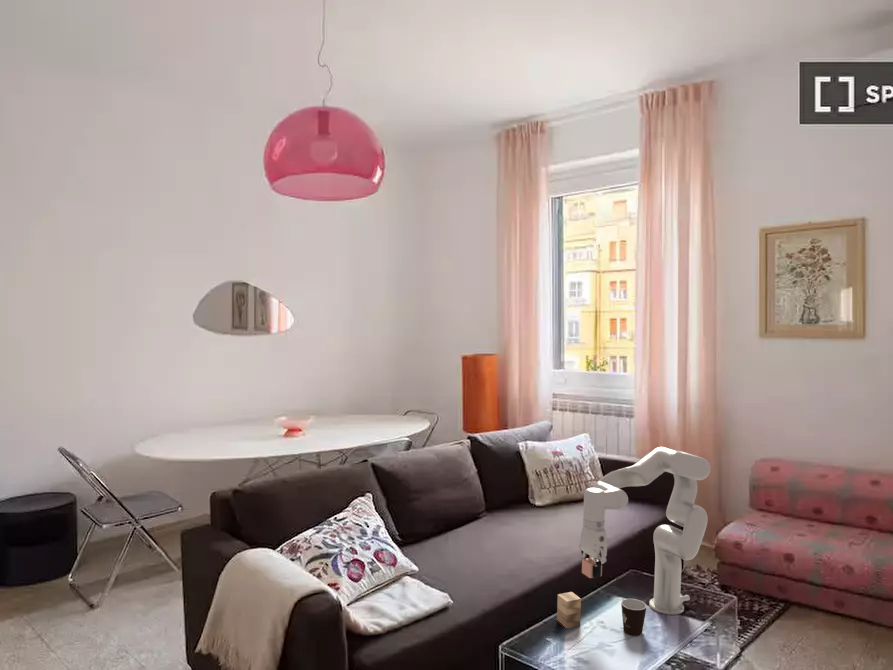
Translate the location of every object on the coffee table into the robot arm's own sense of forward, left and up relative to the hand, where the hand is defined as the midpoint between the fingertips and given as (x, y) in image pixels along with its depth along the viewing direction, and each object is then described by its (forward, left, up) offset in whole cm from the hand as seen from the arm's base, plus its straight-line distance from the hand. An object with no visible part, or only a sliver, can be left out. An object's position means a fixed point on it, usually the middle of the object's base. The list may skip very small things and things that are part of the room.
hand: (591, 572), depth 238 cm
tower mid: (+6, -5, -15) cm, 17 cm away
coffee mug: (-13, +7, -20) cm, 25 cm away
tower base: (+6, -5, -20) cm, 21 cm away
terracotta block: (0, 0, -1) cm, 1 cm away
